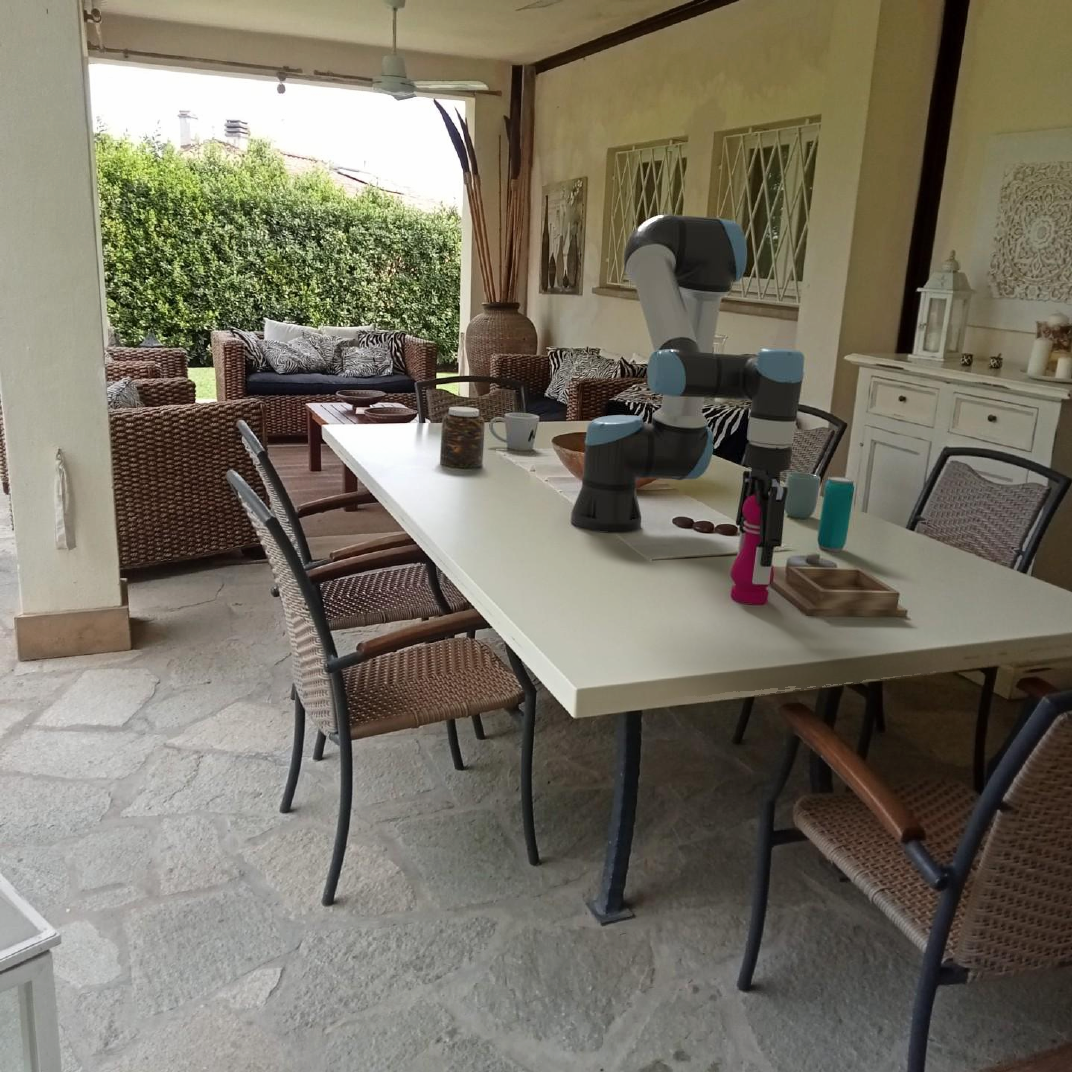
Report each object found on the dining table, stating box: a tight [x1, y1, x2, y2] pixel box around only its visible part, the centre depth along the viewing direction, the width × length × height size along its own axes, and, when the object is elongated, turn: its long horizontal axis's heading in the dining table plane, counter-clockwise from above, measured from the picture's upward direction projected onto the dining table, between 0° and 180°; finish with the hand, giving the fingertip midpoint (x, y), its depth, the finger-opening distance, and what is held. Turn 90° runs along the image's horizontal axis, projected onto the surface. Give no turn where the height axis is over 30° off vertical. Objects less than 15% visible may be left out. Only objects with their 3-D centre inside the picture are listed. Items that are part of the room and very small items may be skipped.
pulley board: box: [769, 552, 908, 618], centre depth 177 cm, size 18×24×5 cm
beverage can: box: [816, 475, 855, 553], centre depth 207 cm, size 6×6×15 cm
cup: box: [784, 471, 822, 520], centre depth 235 cm, size 8×8×10 cm
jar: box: [439, 406, 485, 469], centre depth 267 cm, size 12×12×15 cm
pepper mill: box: [730, 494, 774, 606], centre depth 169 cm, size 7×7×20 cm
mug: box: [488, 412, 540, 451], centre depth 298 cm, size 10×15×10 cm
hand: (752, 576), depth 170 cm, fingers closed on pepper mill, 7 cm apart
